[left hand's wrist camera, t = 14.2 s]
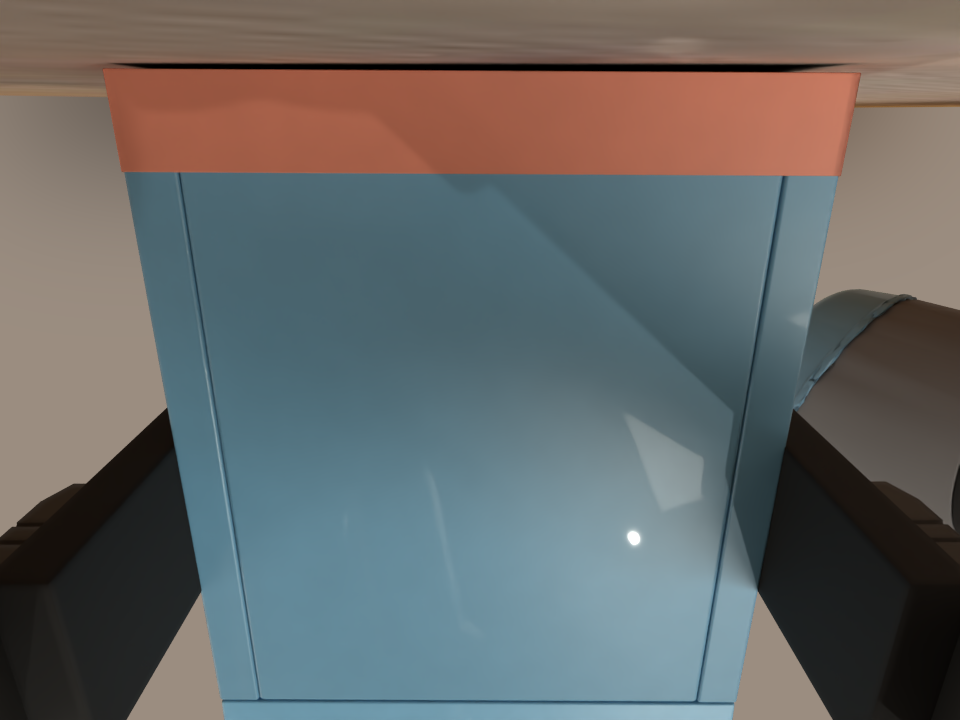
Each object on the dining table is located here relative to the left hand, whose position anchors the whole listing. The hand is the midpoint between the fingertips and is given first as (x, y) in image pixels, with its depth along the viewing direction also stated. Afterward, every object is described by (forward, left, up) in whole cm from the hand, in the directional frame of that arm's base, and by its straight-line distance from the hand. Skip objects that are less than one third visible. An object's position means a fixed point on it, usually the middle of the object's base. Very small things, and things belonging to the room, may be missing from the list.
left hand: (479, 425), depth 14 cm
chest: (+3, -3, -7) cm, 8 cm away
